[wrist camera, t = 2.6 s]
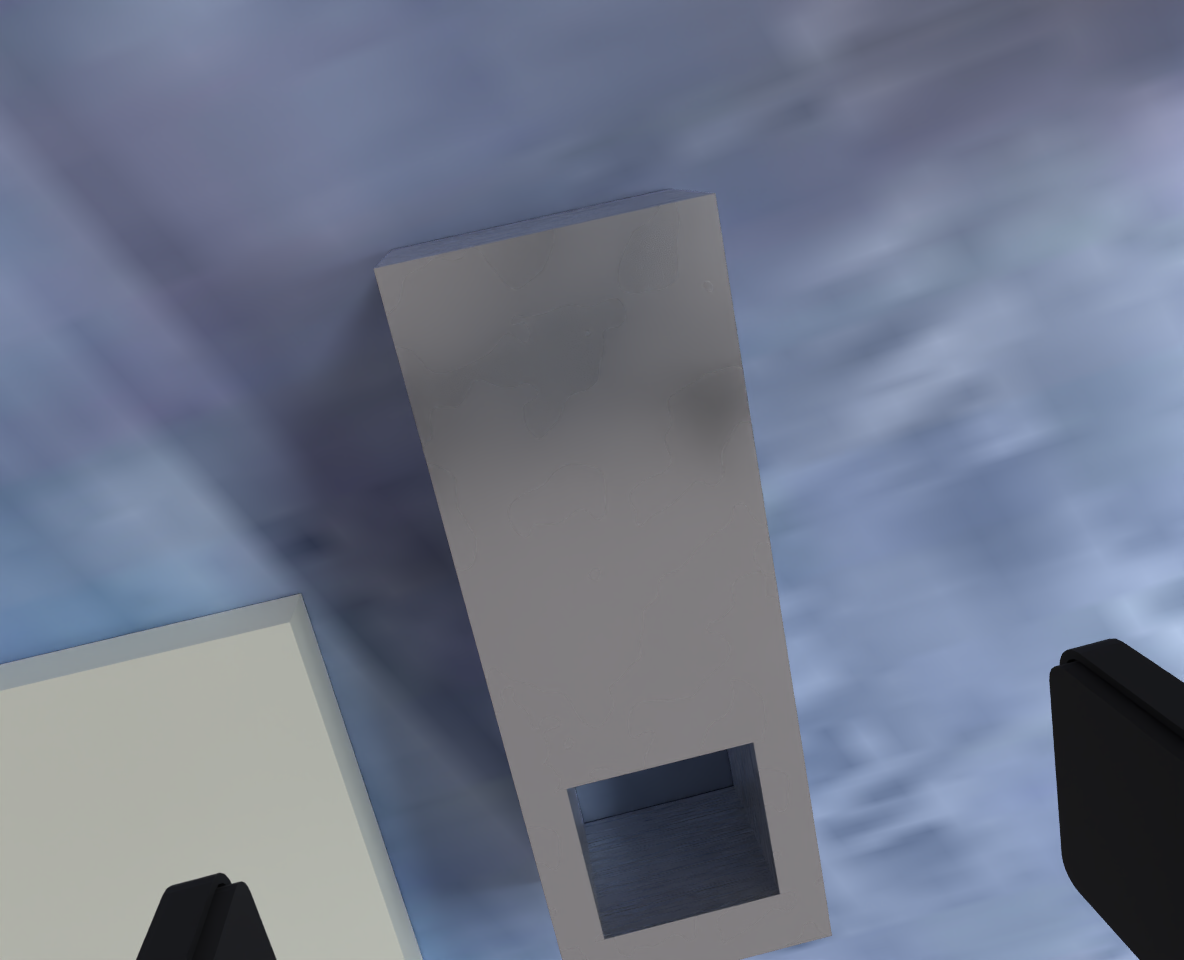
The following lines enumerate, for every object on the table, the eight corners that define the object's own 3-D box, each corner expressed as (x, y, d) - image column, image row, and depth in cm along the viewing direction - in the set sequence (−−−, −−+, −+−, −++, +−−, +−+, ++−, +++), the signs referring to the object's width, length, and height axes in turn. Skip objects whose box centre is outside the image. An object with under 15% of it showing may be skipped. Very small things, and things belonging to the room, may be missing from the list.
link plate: (391, 250, 20) (373, 268, 17) (670, 188, 21) (714, 193, 17) (558, 879, 26) (574, 1002, 22) (779, 823, 26) (832, 935, 22)
